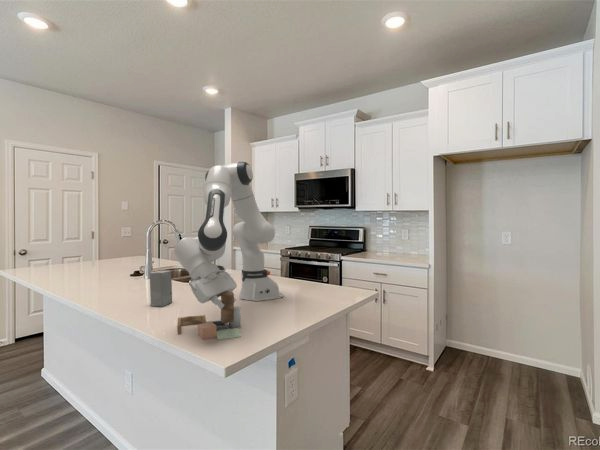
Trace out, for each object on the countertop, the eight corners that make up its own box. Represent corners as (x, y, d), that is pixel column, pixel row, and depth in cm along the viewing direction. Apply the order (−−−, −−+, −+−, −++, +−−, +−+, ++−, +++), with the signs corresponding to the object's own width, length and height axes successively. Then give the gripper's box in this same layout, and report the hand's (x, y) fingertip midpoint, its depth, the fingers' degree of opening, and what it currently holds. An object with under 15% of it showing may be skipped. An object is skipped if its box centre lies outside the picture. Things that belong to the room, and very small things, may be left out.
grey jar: (239, 323, 129) (239, 305, 128) (241, 327, 124) (241, 309, 124) (228, 324, 127) (228, 307, 127) (229, 328, 123) (229, 310, 123)
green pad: (237, 329, 122) (237, 328, 122) (241, 337, 115) (241, 335, 115) (215, 331, 120) (215, 330, 119) (217, 339, 112) (217, 338, 112)
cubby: (204, 322, 130) (204, 314, 130) (206, 330, 120) (206, 322, 120) (178, 325, 126) (177, 317, 126) (177, 334, 117) (177, 325, 117)
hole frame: (226, 323, 128) (226, 319, 128) (228, 330, 121) (228, 326, 121) (206, 325, 126) (206, 321, 126) (207, 332, 119) (207, 328, 119)
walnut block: (232, 318, 119) (232, 291, 119) (233, 322, 115) (233, 293, 115) (220, 319, 118) (221, 292, 118) (222, 323, 114) (222, 294, 114)
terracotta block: (211, 332, 119) (211, 321, 119) (216, 336, 115) (216, 325, 115) (197, 335, 116) (197, 324, 116) (202, 340, 112) (202, 328, 112)
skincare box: (162, 307, 150) (162, 273, 150) (148, 306, 152) (148, 272, 151) (173, 302, 158) (173, 269, 158) (160, 301, 160) (159, 269, 159)
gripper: (192, 274, 109) (217, 306, 106) (226, 265, 128) (248, 292, 125) (181, 286, 110) (205, 318, 107) (216, 276, 130) (237, 303, 127)
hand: (228, 304), depth 116 cm, fingers closed on walnut block, 6 cm apart
